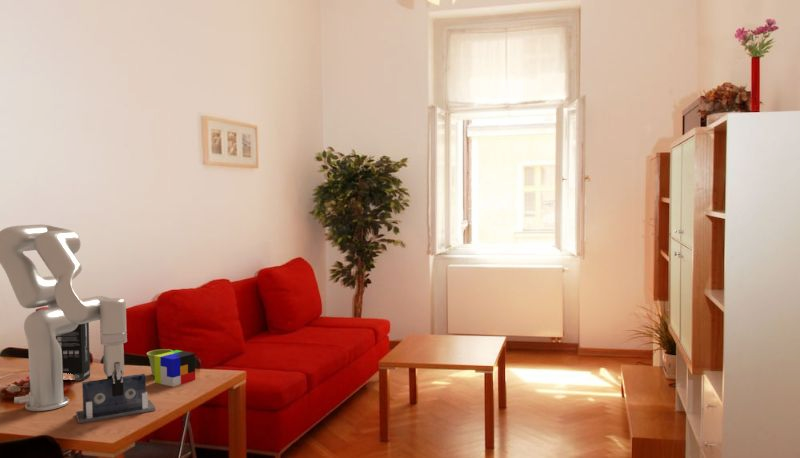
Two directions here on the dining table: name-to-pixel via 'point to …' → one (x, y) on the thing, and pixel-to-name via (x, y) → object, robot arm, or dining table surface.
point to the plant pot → (151, 357)
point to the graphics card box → (75, 351)
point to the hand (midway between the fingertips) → (115, 391)
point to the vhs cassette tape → (106, 402)
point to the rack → (90, 417)
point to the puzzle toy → (174, 368)
